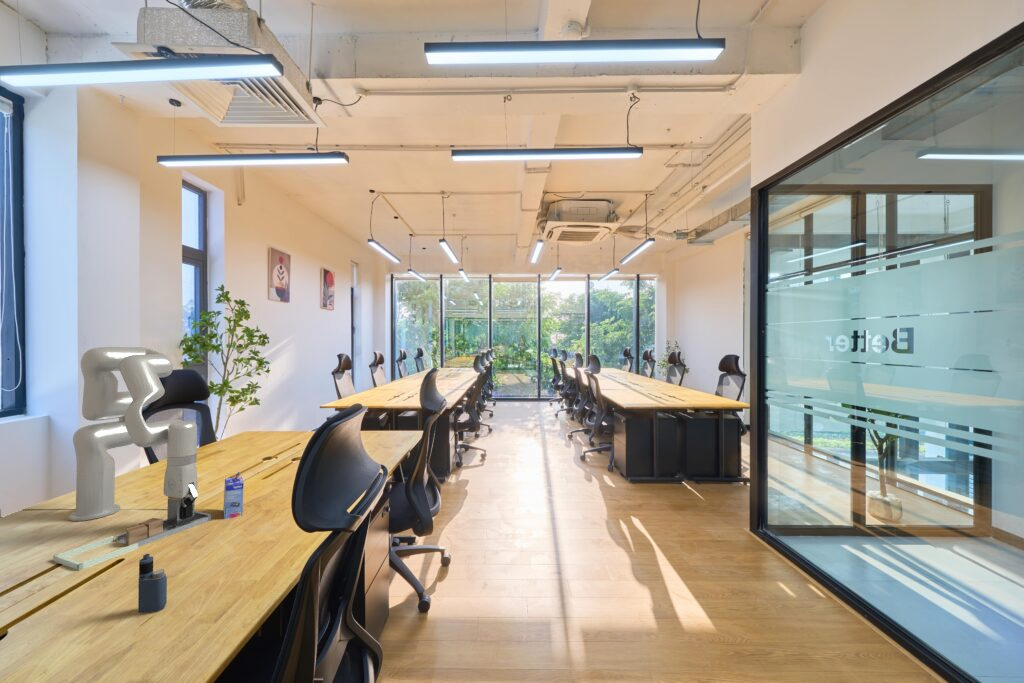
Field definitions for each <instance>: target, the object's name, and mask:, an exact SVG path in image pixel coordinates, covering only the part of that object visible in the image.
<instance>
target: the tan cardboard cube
mask: <svg viewBox="0 0 1024 683" xmlns="http://www.w3.org/2000/svg"><path fill="white" fill-rule="evenodd" d="M163 520H164V519H163V518H157V517H156V518H155V517H152V518H149V519H147V520H143V521H142V522H139V523H138V525H142V524H145V525H146V526H147V527H148V528H147V537H150V536H152V535H155V534H158V533H161V532H163Z"/></svg>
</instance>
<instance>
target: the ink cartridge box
mask: <svg viewBox="0 0 1024 683" xmlns="http://www.w3.org/2000/svg"><path fill="white" fill-rule="evenodd" d="M240 474H241V473H240V472H239V471H238V472H237V474H236V475H235V477H228V478H225V479H224V490H223V492H224V494H223V510H222V511H223V512H222V513H223V519H224V520H227V519H232V518H238V517H242V516H243V513H244V512H243V509H244V507H243V506H244V484H245V483H244V480H243V476H240Z"/></svg>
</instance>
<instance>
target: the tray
mask: <svg viewBox="0 0 1024 683" xmlns="http://www.w3.org/2000/svg"><path fill="white" fill-rule="evenodd" d="M114 542H115V536H114V535H112V536H108V537H106V538H102V539H100V540H96V541H93V542H91V543H88V544H85V545H81V546H78V547H75V548H72V549H70V550H69V549H68V550H65V551H63V552H60V553H57V554H54V555H52V558H53V559H52V561H53V562H54V563H56V564H57V563H58V564H60V565H63V566H65V567H69V568H71V569H74V570H75V571H76V570H77V571H81V570H84V569H87V568H90V567H93V566H95V565H97V564H101V563H103V562H106V561H108V560H111V559H114V558H116V557H119V556H122V555H124V554H127V553H130V552H133V551H136V550H138V548H139V547H138V543H135V544H132V545H130V546H128V545H127V546H124V547H122V548H118V549H116V550H113V551H110V552H108V553H105V554H103V555H99V556H96V557H94V558H91V559H88V560H85V561H83V562H81V561H78V560H75V559H72V558H69V557H72V556H75V555H79V554H81V553H83V552H84V553H85V552H87V551H90V550H92V549H95V548H99V547H102V546H104V545H107V544H110V543H114Z"/></svg>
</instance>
